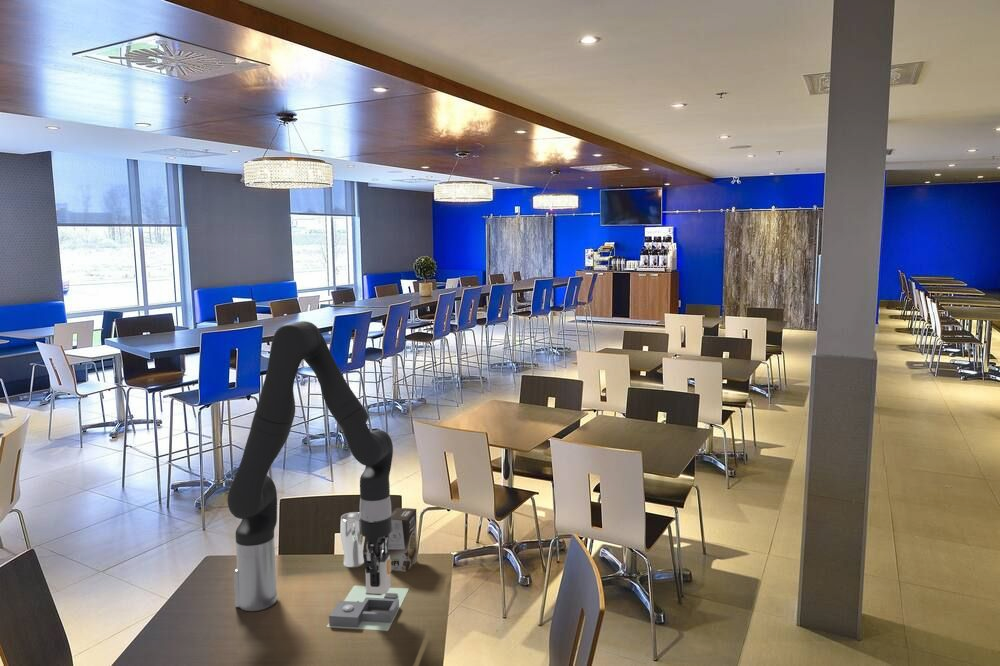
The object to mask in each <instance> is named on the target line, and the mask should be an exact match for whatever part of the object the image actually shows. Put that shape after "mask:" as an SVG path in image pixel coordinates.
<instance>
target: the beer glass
mask: <svg viewBox="0 0 1000 666" xmlns="http://www.w3.org/2000/svg"><path fill="white" fill-rule="evenodd" d="M339 527H340V529H339V530H340V531H339V532H340V541H341V546H342V550H343V566H344V567H347V568H358V567H361V566H363V565H364V564H365V563H364V557H363V554H364V546H365V540H366V537H364V536H362V535H361V532H360V511H359V512H358V511H352V512H347V513H344V514H342V515H341V516H340V525H339Z"/></svg>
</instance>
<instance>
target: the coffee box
mask: <svg viewBox="0 0 1000 666" xmlns="http://www.w3.org/2000/svg"><path fill="white" fill-rule="evenodd" d="M391 515H392V531H391V533H390V534H389V545H388V554H389V555H390V559H391V571H393V572H394V571H395V572H403V573H404V572H406V573H407V572H408V571H409V570H410V569H411V568H412V566H413V565H416V564H417V563H418V535H417V534H418V530H417V528H418V527H417V526H418V525H417V522H418V521H417V508H408V507H402V508H401V507H395V508H394V510H392V511H391ZM415 563H416V564H415Z"/></svg>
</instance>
